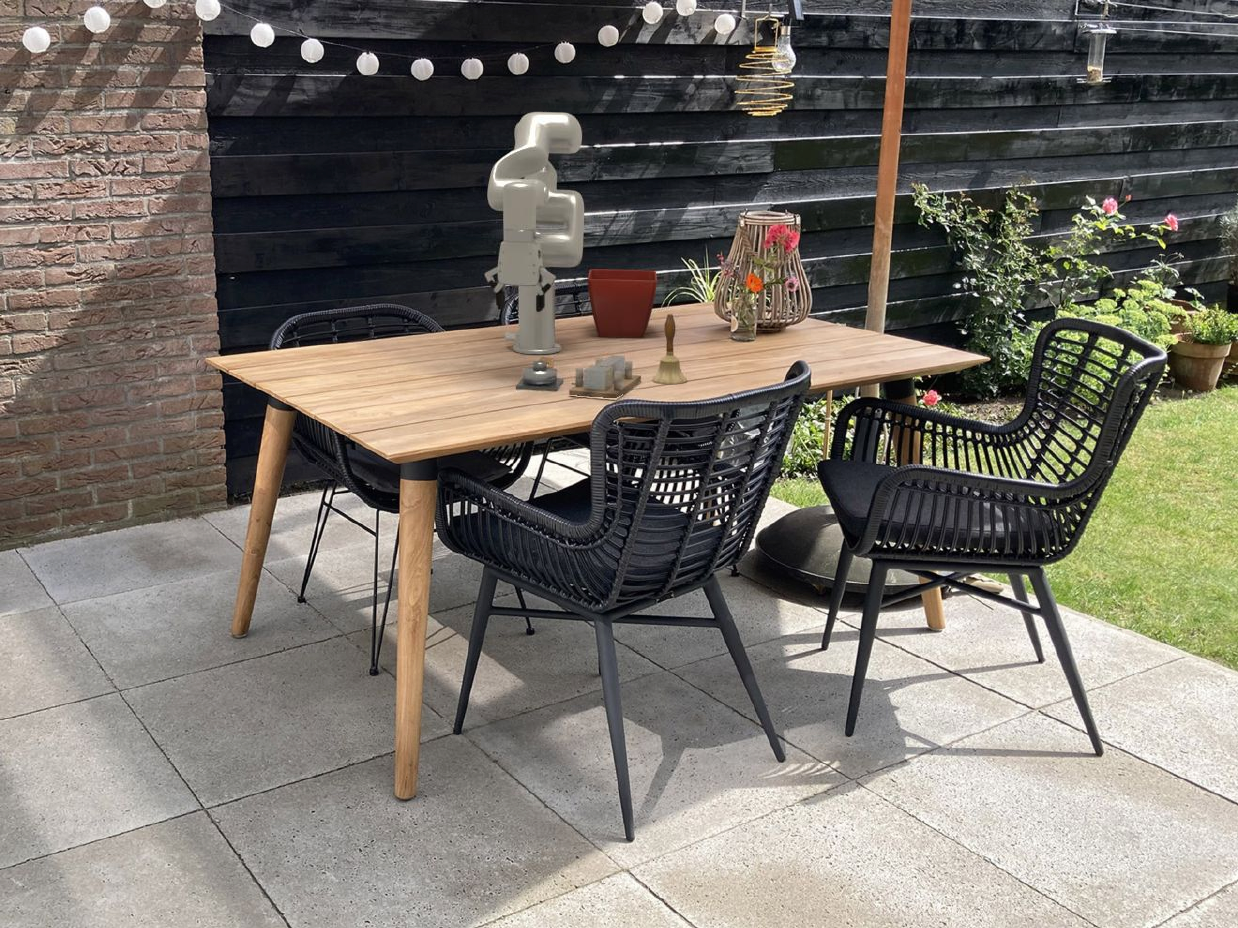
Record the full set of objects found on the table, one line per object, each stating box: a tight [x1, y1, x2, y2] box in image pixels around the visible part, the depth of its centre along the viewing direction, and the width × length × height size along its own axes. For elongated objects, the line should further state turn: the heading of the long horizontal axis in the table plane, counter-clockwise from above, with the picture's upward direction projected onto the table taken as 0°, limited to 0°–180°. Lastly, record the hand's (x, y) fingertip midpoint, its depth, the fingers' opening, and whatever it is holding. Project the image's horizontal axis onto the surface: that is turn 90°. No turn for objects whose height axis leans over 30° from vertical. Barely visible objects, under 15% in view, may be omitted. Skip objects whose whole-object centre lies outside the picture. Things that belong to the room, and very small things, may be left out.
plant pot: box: [586, 268, 658, 339], centre depth 352 cm, size 19×19×17 cm
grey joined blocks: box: [583, 354, 626, 391], centre depth 288 cm, size 18×5×4 cm, turn 163°
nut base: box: [515, 377, 564, 392], centre depth 290 cm, size 10×14×1 cm, turn 83°
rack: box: [568, 358, 642, 401], centre depth 287 cm, size 11×20×6 cm, turn 163°
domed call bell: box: [522, 356, 558, 384], centre depth 293 cm, size 14×8×4 cm, turn 173°
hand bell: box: [651, 313, 688, 385], centre depth 296 cm, size 8×8×16 cm
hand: (520, 309), depth 295 cm, fingers open, 9 cm apart
